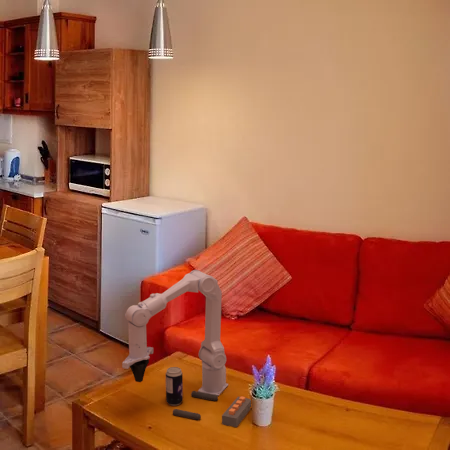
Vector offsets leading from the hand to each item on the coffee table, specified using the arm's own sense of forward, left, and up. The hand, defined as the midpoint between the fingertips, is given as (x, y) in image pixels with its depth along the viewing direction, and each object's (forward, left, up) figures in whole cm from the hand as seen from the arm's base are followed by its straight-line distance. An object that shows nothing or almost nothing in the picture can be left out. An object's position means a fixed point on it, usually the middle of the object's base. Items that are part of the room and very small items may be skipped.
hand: (139, 381), depth 203 cm
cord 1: (-2, +16, -10) cm, 20 cm away
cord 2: (-16, +16, -10) cm, 25 cm away
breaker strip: (-9, +31, -10) cm, 34 cm away
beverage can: (-9, +8, -11) cm, 16 cm away
